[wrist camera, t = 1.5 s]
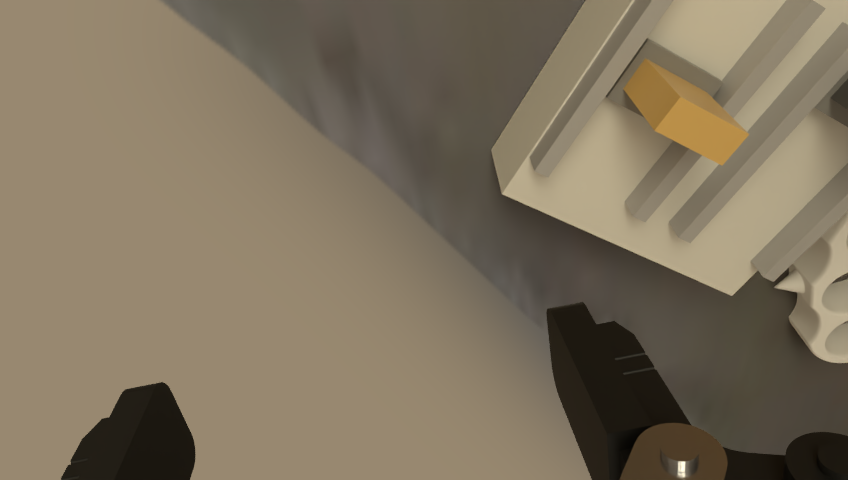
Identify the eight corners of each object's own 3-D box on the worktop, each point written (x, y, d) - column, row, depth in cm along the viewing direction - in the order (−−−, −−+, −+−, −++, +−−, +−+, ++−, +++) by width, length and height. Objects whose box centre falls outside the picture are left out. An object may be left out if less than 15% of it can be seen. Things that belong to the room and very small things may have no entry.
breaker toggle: (643, 35, 28) (684, 76, 24) (718, 78, 30) (769, 124, 25) (603, 93, 30) (635, 140, 26) (676, 131, 31) (717, 182, 27)
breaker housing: (682, -153, 29) (745, -141, 23) (918, 10, 33) (1016, 51, 28) (490, 150, 37) (505, 209, 32) (699, 246, 42) (742, 312, 36)
